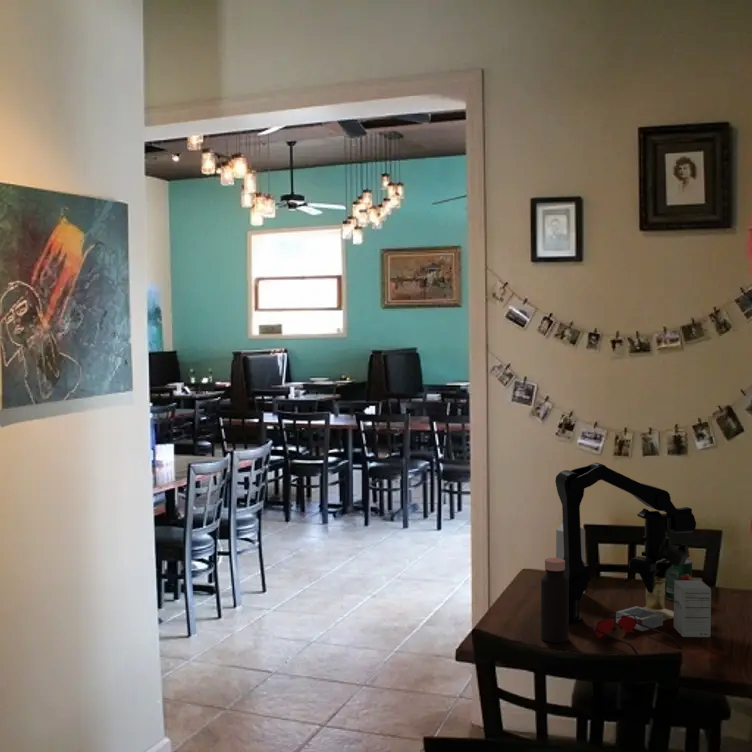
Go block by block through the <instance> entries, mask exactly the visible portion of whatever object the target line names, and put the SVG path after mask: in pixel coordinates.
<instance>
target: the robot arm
mask: <svg viewBox="0 0 752 752" xmlns="http://www.w3.org/2000/svg"><path fill="white" fill-rule="evenodd" d="M599 481H603V482H605V483H607V484H610V485H611V486H614V487H615V488H618V489H620V490H622V491H624V492H626V493H627V494H628V493H629V494H630V495H631V496H633V497H634V498H635V499H637V500H638V502H641V503H642V504H643V505H645V506H646V507H648V508H651V509H653V510H649V509H647V508H644V507H643V509H642V510H641V511H640V512H638V513H637V517H639V518H641V519H643V520H644V536H641V542H644V551H641V556H640V555H639V556H638V555H637V556H635V557H632V558H630V559H629V561H628V568H629V569H630V570H635V571H637V572H638V574H639V576H640V578H641V580H642V582H643V584H644V586H645V589H646V588H647V590H648V592H649V593H652V592H653V587H654V580H655V575H656V576H662V577H665V578H666V575H667V572H668V570H669V568H671V567H672V566H673V565H675V566H680V565H682V564H683V565H684V564H685V561H686V559H687V558H688V559H690V551H689V546H688V545H687V544H685V543H682V544H680V545H679V546H678V545H677V544H676V545H674V544H672V539H671V538H670V537H669V536H668V531H669V532H670V533H671V534H683V533H687V534H688V533H694V532H695V531H696V527H697V522H696V519H695V515H694V514H693V509H692V508H691V507H688V506H684V507H677V508H676V506H675V505H674V503H673V502H672V500H671V494H670V493H669V492H668V491H667V490H665V489H662V488H660V487H657V486H653V485H650V484H646V483H642V482H639V481H636V480H634V479H632V478H630V477H628V476H626V475H624V474H622V473H620V472H617V471H615V470H613V469H611V468H609V467H607V466H606V465H605V464H603V463H599V462H593V463H591V464H588V465H586V466H581V467H577V468H573V469H571V470H567V469H565V470H561V471H560V472H558V474H557V475H556V476H555V487H556V492H557V495H558V497H559V498H558V499H559V500H560V503H561V506H562V507H561V510H562V511H561V512H562V519H563V539H564V558H563V560H565V571H564V576H565V577H566V578H567V579H568V581H569V624H572V623H573V624H574V623H576V622H579V621H583V620H584V617H582V616H580V601H581V600H582V597H583V595H584V594H583V592H584V591H585V592H586V589H588V588H589V582H591V578H590V573H591V571H590V569H591V567H590V565H589V564H588V563H586V562H585V563H584V562H583V561H582V557H581V529H580V527H581V510H580V509H581V508H580V507H581V503H582V501H583V498H584V496H585V495H584V494H585V489H587V488H589V487H591V486H593V485H595V484H596V483H597V482H599ZM661 512H664V513H661Z"/></svg>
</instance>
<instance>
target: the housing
mask: <svg viewBox="0 0 752 752" xmlns="http://www.w3.org/2000/svg"><path fill="white" fill-rule="evenodd" d="M623 615H624V616H626V615H634V616H635V617H636V622H638V623H640V624H643V625H645V626H648V627H650V628H653V629H655V628H658V627H661V626H664V625H663V623H664V621H663V614H661V613H658V612H655V611H651V610H648V609H645V608H642V607H641V606H638V605H635V606H632V607H627V608H625V609H621V610H617V611H615V623H616V624H618V623H617V622H618V621H619V620H620V618H616V617H621V616H623ZM634 616H627V617H630V618H633V619H635V617H634ZM633 629H634V630H635V631H639V632H645V631H648V630H650V629H649V628H646V627H644V626H641V625H639V624H636V626H635V627H634V628H633ZM633 629H632V630H633Z"/></svg>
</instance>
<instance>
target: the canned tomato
mask: <svg viewBox="0 0 752 752" xmlns="http://www.w3.org/2000/svg"><path fill="white" fill-rule="evenodd" d="M676 580H693V560H692V559H690V558H687V559H686V561H685V564H684V565H683V564H682V565H680V566H675V565H673V566H672V567H671V568H669V570H668V572H667V575H666V581H665V599H666V598H667V600H669V601H673V602H674V581H676Z"/></svg>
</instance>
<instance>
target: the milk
mask: <svg viewBox="0 0 752 752" xmlns="http://www.w3.org/2000/svg"><path fill="white" fill-rule="evenodd" d="M580 529H581V557H582V561H583V562H584V563H586V530H585V529H584V528H582V527H581V526H580ZM555 533H556V537H555V542H556V543H555V544H556V545H555V548H556V549H555V558H560V559H563V558H564V539H563V518H562V521H561V524H560V525H559V526H558V527H557V528H556V531H555ZM585 592H586V590H585V591H584V592H583V595H584V594H585Z"/></svg>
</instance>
